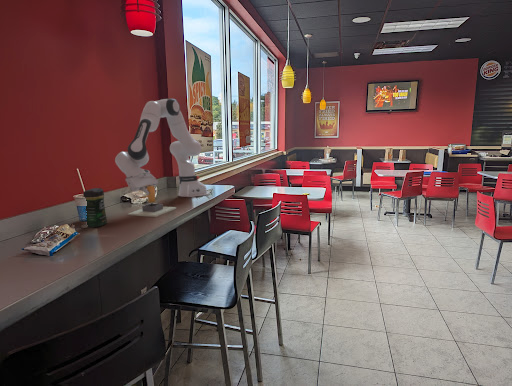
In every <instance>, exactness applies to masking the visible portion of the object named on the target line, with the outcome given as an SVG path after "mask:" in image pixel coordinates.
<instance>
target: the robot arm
mask: <svg viewBox="0 0 512 386" xmlns="http://www.w3.org/2000/svg"><path fill="white" fill-rule="evenodd" d="M180 105H181V104H180V103H179V101H178V100H177V99H175V98H163V99H162V98H161V99H160V100H155V101H154V100H150V101H147V102H146V103H145V105H144V107H143V110H142V112H141V114H140V119H139V124H138V127H137V129H136V132H135V135H134V138H133V139H132V140H131V142H130V143H129V144H128V146H127V149H126V150H127V151H120V152H119V153H117V155H116V156H115V159H114V162H115V165H116V166H117V167H118V168H119V170H120V171H121V172H122V173H123V174H124V175H125V176H126V177H125V182H126V184H127V186H128V187H129V188H130V189H131V191H133V192H138V191H141V192H143V193H144V194H146V195H147V196H148V194H150V191H149V190H147V186H154V188H155V187H156V186H157V185H158V183H159V181H158V180H157V178H156V177H155V176H154V175H153V174H152V173H151V171H150V170H148V169H144V168H142V167H144V166H146V165H147V164H148V163H149V160H150V155H149V153H148V149H147V146H146V145H147V144H146V142H147V140H148V139H147V138H148V136H149V133H153V132H156V130H157V129H158V127H159V125H160V120H161V118H166V121H167V125H168V127H169V129H170V133H171V135H172V136H173V137H174V138H175V139H176V140H175V141H173V142H171V144H170V145H169V152H170V154H171V155H172V156H173V157H174V158H175V160H176V162H177V166H178V167H177V168H178V184H179V188H178V189H179V190H178V197H186V198H193V197H201V196H209V195H211V192H210V191H208V190H207V187H206V185H205V184H204V183H203V182H201V181H200V180H199V179H200V176H198V175H196V170H195V168H196V167H195V164H194V163H193V162H192V161H191V159H190V157H196V156H199V155H200V154H201V152H202V145H201V143H200V142H199V141H197V140H196V139H195V138H194V137H193V136H192V134H191V133H190V131H189V129H188V127H187V124H186V122H185V118H184V116H183V113H182V111H181V106H180ZM156 192H157V189H155V193H156Z"/></svg>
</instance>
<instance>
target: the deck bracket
mask: <svg viewBox="0 0 512 386" xmlns="http://www.w3.org/2000/svg"><path fill="white" fill-rule="evenodd" d="M141 207H142V208H141V209H137V210H134V211H132V212H128V213H127V215H128V216H134V217H135V216H137V217H147V218H148V217H150V218H157V217H159V216H161V215H164V214H167V213H169V212H172V211H174V210H176V209H177V207H176V206H164V205H163V203H155V202H153V203H148V204H144V205H143V206H141Z"/></svg>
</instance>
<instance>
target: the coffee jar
mask: <svg viewBox="0 0 512 386" xmlns="http://www.w3.org/2000/svg"><path fill="white" fill-rule="evenodd" d="M82 194H83V196H82V198H83V197H85V198H86V201H87V206H86V209H85V220H86V219H87V225H88V228H91V229H92V228H93V229H94V228H97V227H99V228H100V227H103V226H104V225H106V224H107V223H108V220H107V213H106V208H105V193H104V189H102V188H101V187H99V188H98V187H94V188H90V189H87V190H84V191H83V193H82ZM86 211H87V212H86ZM86 213H87V215H86ZM86 216H87V218H86ZM87 225H86V226H87Z"/></svg>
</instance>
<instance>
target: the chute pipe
mask: <svg viewBox="0 0 512 386" xmlns="http://www.w3.org/2000/svg"><path fill="white" fill-rule="evenodd" d="M146 190H149V191H150V194H148V195H147V202H148V204H151V203H156V201H157V200H156V192H155V190H156V189H155V187H154V186H147V189H146Z"/></svg>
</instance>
